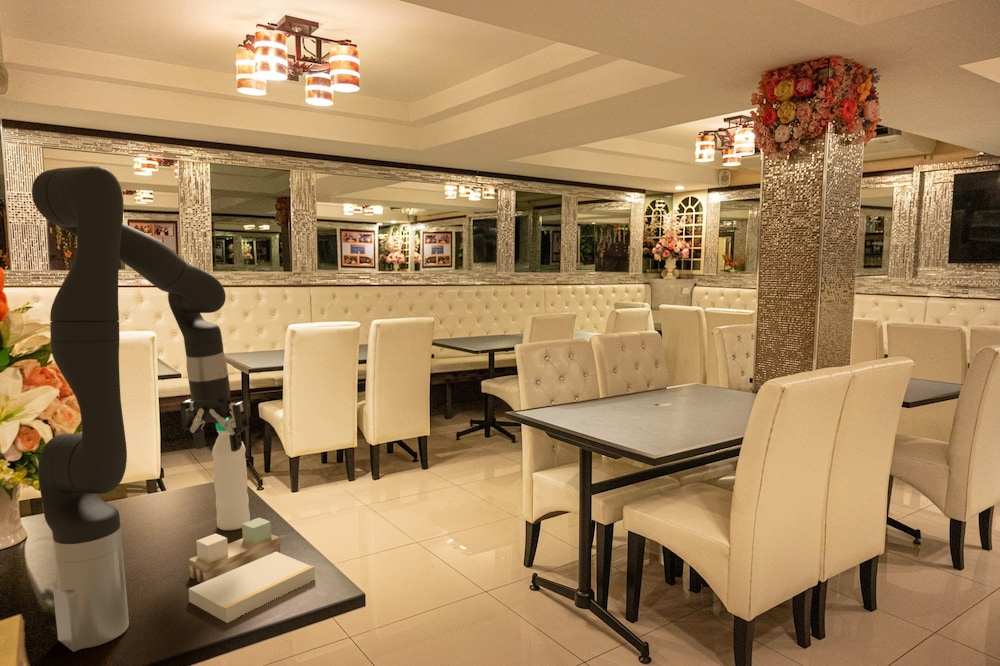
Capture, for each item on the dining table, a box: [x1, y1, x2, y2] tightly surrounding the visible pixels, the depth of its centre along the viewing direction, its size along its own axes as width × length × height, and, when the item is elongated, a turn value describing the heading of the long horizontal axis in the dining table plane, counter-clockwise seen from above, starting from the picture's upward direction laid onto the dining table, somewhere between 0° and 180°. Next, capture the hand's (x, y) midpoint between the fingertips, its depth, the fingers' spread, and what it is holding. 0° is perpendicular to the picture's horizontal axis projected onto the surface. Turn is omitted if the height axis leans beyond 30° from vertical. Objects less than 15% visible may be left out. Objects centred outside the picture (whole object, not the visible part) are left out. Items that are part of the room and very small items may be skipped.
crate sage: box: [241, 517, 273, 545], centre depth 134 cm, size 4×4×4 cm
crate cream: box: [195, 533, 229, 563], centre depth 127 cm, size 4×4×4 cm
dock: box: [188, 552, 316, 624], centre depth 121 cm, size 18×12×3 cm, turn 144°
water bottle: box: [211, 417, 251, 531], centre depth 150 cm, size 7×7×25 cm
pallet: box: [188, 533, 282, 583], centre depth 131 cm, size 16×6×4 cm, turn 144°
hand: (218, 448), depth 138 cm, fingers open, 8 cm apart
